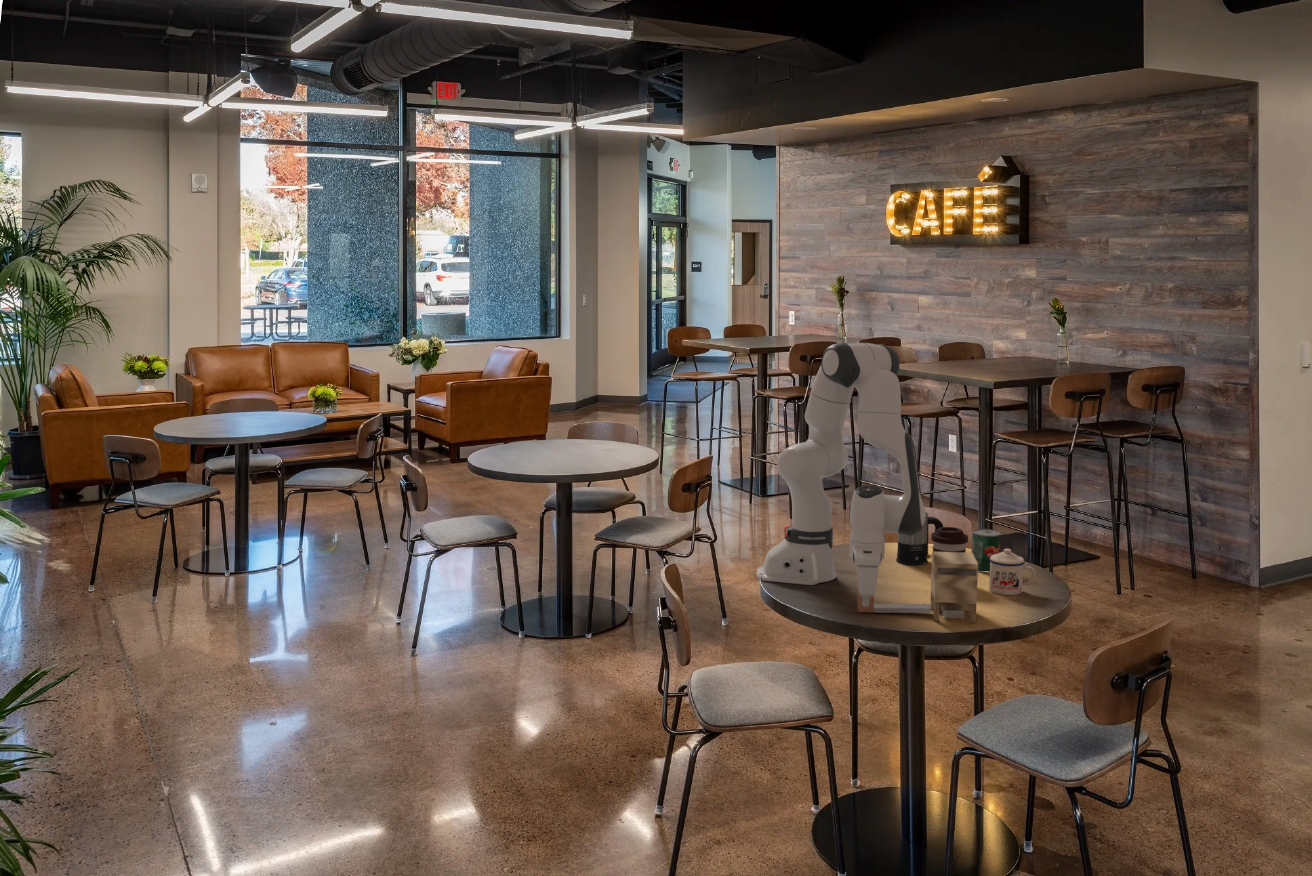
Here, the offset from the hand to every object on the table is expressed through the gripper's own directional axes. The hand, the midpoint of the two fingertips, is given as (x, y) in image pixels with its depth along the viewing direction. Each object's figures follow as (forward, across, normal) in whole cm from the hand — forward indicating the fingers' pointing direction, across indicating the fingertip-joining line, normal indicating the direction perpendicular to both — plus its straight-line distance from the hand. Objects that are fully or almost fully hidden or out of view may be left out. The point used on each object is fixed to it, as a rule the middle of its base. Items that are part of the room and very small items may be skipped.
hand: (865, 603), depth 281 cm
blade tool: (+2, 0, +7) cm, 7 cm away
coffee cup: (+2, -31, +24) cm, 39 cm away
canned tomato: (+2, -46, +36) cm, 58 cm away
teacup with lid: (+2, -24, +40) cm, 46 cm away
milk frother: (+2, -55, +15) cm, 57 cm away
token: (+3, 0, +22) cm, 22 cm away
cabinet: (+2, 0, +22) cm, 22 cm away
